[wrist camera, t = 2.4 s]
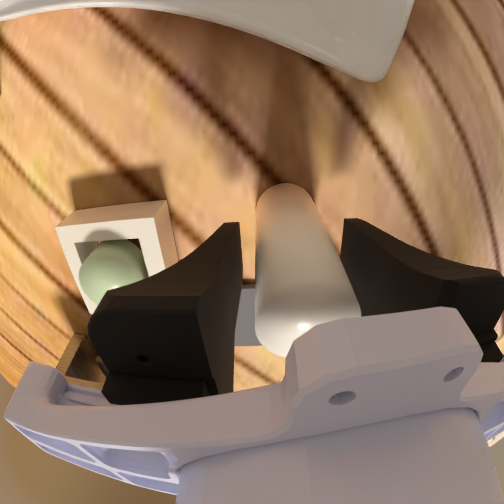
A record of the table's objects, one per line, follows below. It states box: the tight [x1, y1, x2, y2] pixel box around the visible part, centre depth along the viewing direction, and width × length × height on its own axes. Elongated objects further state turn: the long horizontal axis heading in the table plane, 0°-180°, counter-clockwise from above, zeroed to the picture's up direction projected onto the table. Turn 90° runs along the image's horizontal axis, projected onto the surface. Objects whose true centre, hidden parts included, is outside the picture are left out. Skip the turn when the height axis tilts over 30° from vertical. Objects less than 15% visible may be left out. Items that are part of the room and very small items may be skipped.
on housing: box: [55, 200, 179, 314], centre depth 15 cm, size 6×6×2 cm
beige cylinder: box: [255, 183, 361, 358], centre depth 11 cm, size 3×3×8 cm
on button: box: [79, 239, 149, 305], centre depth 14 cm, size 3×3×2 cm
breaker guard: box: [56, 334, 109, 390], centre depth 20 cm, size 12×8×5 cm, turn 93°
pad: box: [234, 284, 262, 346], centre depth 18 cm, size 5×5×1 cm
